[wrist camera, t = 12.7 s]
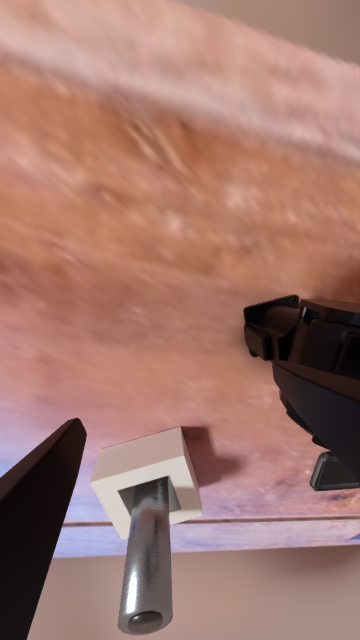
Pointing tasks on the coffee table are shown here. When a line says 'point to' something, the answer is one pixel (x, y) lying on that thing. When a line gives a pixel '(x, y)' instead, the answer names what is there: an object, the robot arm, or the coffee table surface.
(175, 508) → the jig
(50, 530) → the robot arm
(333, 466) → the phone
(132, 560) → the bushing
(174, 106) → the coffee table surface
